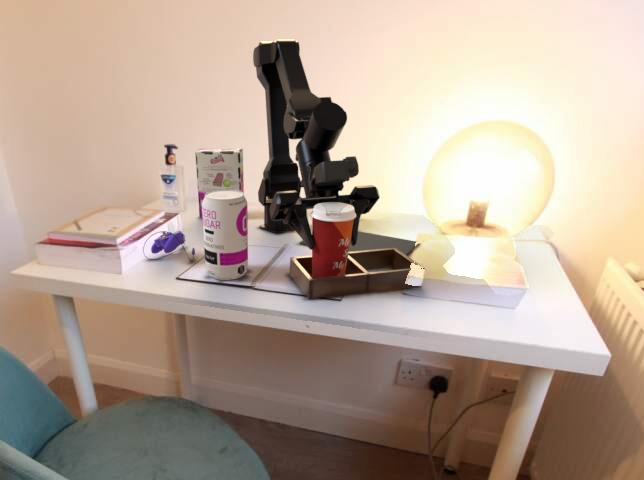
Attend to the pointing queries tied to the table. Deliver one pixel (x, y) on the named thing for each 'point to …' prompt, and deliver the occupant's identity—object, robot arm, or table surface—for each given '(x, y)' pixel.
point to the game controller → (168, 243)
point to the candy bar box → (218, 171)
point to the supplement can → (225, 234)
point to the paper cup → (331, 238)
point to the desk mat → (379, 243)
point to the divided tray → (354, 274)
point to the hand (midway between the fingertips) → (333, 246)
